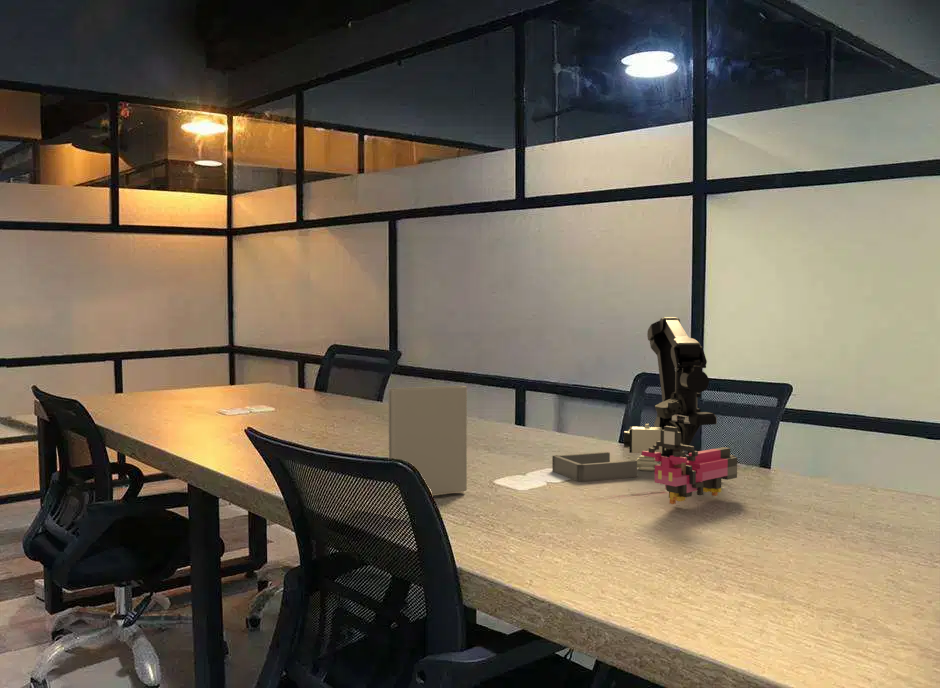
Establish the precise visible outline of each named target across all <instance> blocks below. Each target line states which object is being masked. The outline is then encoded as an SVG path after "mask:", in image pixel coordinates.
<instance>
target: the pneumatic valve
mask: <svg viewBox="0 0 940 688" xmlns="http://www.w3.org/2000/svg"><path fill="white" fill-rule="evenodd" d="M661 430H664V427H654V426H650V424H649V423H645V425H644V426H629V429H628V430H624V431H623V448H624V449H628V451H629V453H630V454H640V456H638V458H636V460H635V461H637V468H638V470H640V471H644V472H646V471H647V472H654V471H655V465H658V461H655V458H654V457H648V456H642V451H649V448H653V445H656V441H660V439H661ZM666 449H668V448H664V447H661V446H659V450H656V451H657V452H661V454H664V453H665V450H666Z"/></svg>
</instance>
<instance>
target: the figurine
mask: <svg viewBox="0 0 940 688" xmlns="http://www.w3.org/2000/svg"><path fill="white" fill-rule="evenodd" d="M659 446H661V447H664V448H668V449H673V455H672V456H670V457H665V456H661V452H657V451H656V450H659ZM686 451H688V452H689V453H688V455H686ZM685 455H686V456H685ZM641 456H648V457H654V459H655V461H657V463H658V462H659V464H657V465H655V468H654V483H655V484H660V485H665V488H664V489H665V490H666V491H667V492H668V499H669V504H671V505H675V504H676V503H677V502H684V501H686V498H689V497H690V498H691V497H692V496H693V493H694V492H696V495H697V496H704V493H711V496H713V497H717V496H718V495H719V494H718V493H722V480H734V479H738V457H737V456H736V455H734V454H731V447H726V446H725V447H724V446H723V447H722V446H721V447H717V448H711V449H710V448H709V449H704V450H699V451H697V450H695V445H694V446H693V445H689V446H688V445H683V444H681V432H677V427H671V426H664V430H661V439H660V441H656V445H653V448H649V451H642V455H641Z"/></svg>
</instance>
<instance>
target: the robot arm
mask: <svg viewBox="0 0 940 688" xmlns="http://www.w3.org/2000/svg"><path fill="white" fill-rule="evenodd" d="M681 324H682V323H681V319H680V318H679V317H676V316H663V317H661V318H660V319H659V320H657V321H656V322H653V323H650V326H649V327H648V329H647V336H646V337H647V341H648V342H649V344H650V345H649V346H650V349H651V350H652V351H653V352H654V353H655V354H656V356H657V365H658V373H659V381H660V382H659V383H660V392H661V402H659V403H658V404H656V405H654V408H655V411H656V417H655V420H654V423H653V427H664V426H671V427H677V432H681V444H683V445H688V446H691V442H692V441H693V439H694V437H695V435H696V433H697V431H698V430H699V429H700V427H701V426H708V425H709V426H711V425H717V423H718V422H717V421H718V419H717V418H718V417H717V415H716V414H715V413H713V412H708V411H702V410H701V408H698V398H701V397H702V392H704V391H706V390H707V389H708V387H709V385H710V379H709V377H708V375H707V373H706V372H704V371H702V369H706V368H707V362H708V361H707V358H706V354H705V351H704V350H703V349H704V348H703V346H701V343H700V342H699V341H698V340H696V339H695V338H692V337H689V336H688V334H687V332H686V331H685V329H684V327H683V326H682V325H681ZM672 455H673V449H666V450H665V453H664V454H661V456H665V457H670V456H672ZM685 456H687V454H685Z"/></svg>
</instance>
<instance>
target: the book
mask: <svg viewBox="0 0 940 688" xmlns="http://www.w3.org/2000/svg"><path fill="white" fill-rule="evenodd" d="M467 390H468V387H467V386H466V385H445V386H443V385H442V386H441V385H440V386H423V387H398V388H396V387H395V388H388V459H389V458H398V459H402V460H406V461H408V462H410V463H412V464H413V465H414V466H415V467H416V468H417V469H418V470H419V471H420V473H421V474H422V476H423V478H424V479H425V481H426V483H427V485H428V486H429V488H430V489H431V491H432V494H433V496H434V495H442V494H443V495H444V494H452V493H453V494H454V493H462V492H466V491H468V489H467V488H468V487H467V483H468V482H467V478H468V477H467V469H468V468H467V467H468V466H467V465H468V464H467V459H468V458H467V457H468V455H467V454H468V453H467V451H468V450H467V449H468V447H467V446H468V445H467V444H468V443H467V441H468V439H467V436H468V435H467V431H468V429H467V428H468V427H467V424H468V422H467V420H468V419H467V418H468V417H467V416H468V414H467V412H468V411H467V409H468V407H467V400H468V399H467V397H468V396H467V393H468V391H467Z"/></svg>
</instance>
